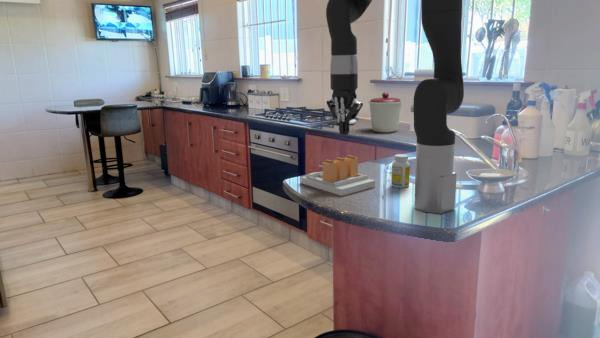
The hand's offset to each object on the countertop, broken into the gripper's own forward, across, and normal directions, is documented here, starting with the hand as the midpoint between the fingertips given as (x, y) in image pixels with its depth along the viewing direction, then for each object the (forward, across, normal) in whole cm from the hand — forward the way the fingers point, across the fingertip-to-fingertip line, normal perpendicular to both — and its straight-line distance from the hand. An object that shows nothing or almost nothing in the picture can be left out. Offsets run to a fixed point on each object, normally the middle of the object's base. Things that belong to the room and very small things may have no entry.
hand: (344, 134), depth 123 cm
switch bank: (+18, +8, -4) cm, 20 cm away
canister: (+18, +69, -95) cm, 119 cm away
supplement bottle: (+18, -6, -18) cm, 26 cm away
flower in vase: (+18, +105, -100) cm, 146 cm away
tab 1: (+15, +6, 0) cm, 17 cm away
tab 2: (+15, +6, -4) cm, 17 cm away
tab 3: (+15, +6, -9) cm, 19 cm away
